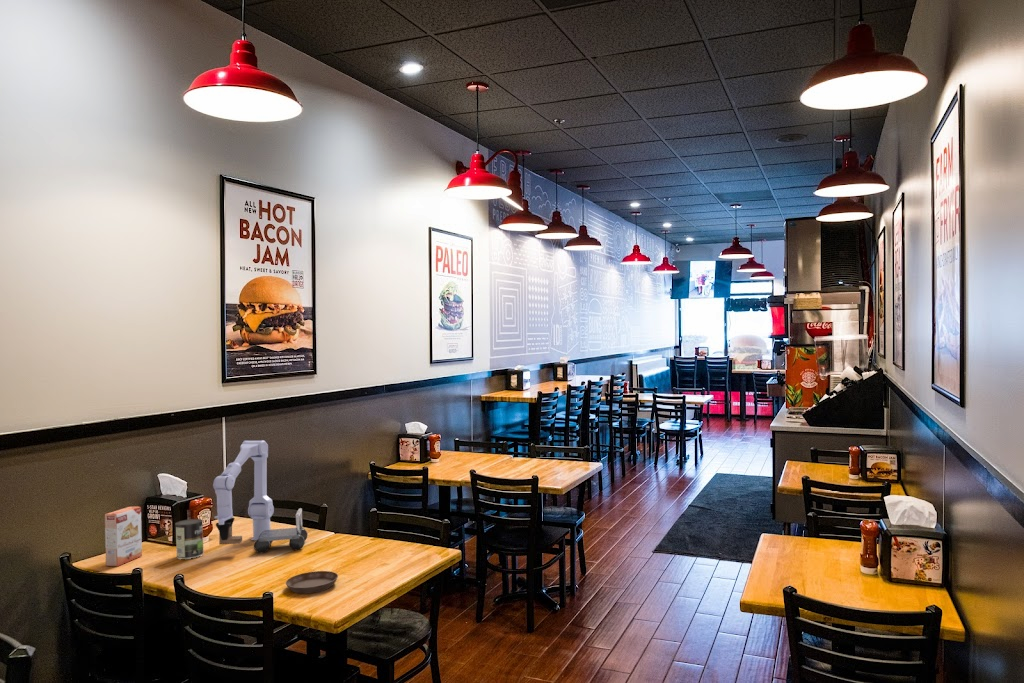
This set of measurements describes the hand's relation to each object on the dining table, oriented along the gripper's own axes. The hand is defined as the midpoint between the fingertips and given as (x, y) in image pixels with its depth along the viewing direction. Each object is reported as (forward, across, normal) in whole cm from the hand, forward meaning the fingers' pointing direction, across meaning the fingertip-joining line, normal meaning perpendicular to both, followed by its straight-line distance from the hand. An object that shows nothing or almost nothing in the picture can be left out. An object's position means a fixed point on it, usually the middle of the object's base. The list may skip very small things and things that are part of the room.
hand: (225, 538), depth 293 cm
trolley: (+7, -5, +21) cm, 23 cm away
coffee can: (+7, -4, -15) cm, 17 cm away
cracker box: (+7, -4, -40) cm, 41 cm away
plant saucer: (+7, +50, +39) cm, 64 cm away
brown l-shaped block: (+2, 0, +2) cm, 3 cm away
